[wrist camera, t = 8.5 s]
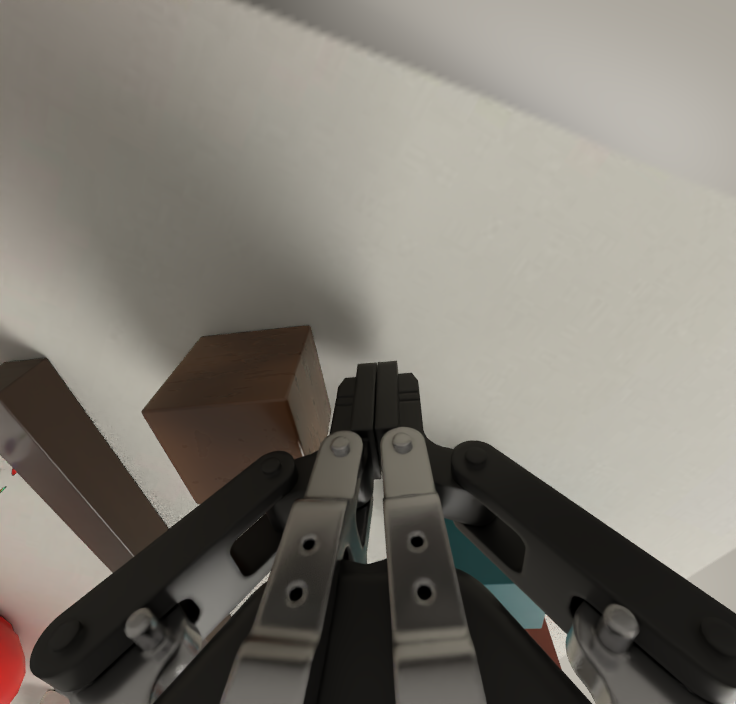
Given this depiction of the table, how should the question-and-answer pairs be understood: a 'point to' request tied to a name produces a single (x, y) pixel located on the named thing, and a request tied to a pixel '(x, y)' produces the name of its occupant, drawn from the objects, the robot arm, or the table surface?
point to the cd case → (54, 698)
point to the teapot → (10, 662)
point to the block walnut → (240, 405)
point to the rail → (73, 465)
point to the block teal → (493, 579)
